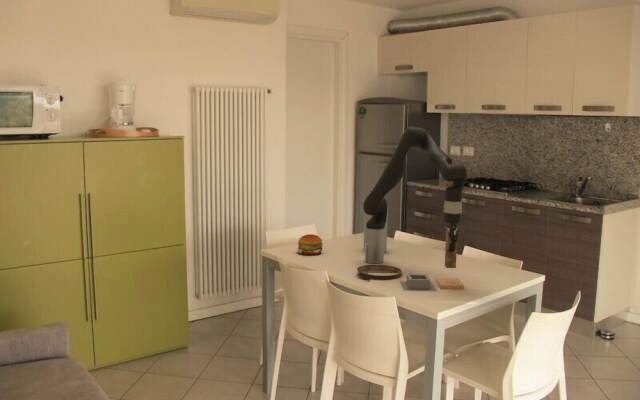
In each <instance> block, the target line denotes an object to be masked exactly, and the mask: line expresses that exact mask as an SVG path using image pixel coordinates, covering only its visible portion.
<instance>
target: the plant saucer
mask: <svg viewBox="0 0 640 400" xmlns="http://www.w3.org/2000/svg"><path fill="white" fill-rule="evenodd" d="M356 270H357V272H358V274H359V275H360V276H361V277H362V278H364V279H367V280H371V279H373V280H391V279H396V278H398V277H399V276H400V275H401V274H402V272H403V270H402V269H401V268H399V267H396V266H393V265H386V264H366V265H361V266H358V267H357V268H356ZM376 274H377V275H376ZM378 274H386V275H378ZM387 274H388V275H387Z"/></svg>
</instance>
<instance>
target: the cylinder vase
mask: <svg viewBox="0 0 640 400" xmlns="http://www.w3.org/2000/svg"><path fill="white" fill-rule="evenodd" d="M363 212H364V211H363ZM388 213H389V206H388V205H387V220H386V224H385V234H384V254H385V253H386V252H387V248H388V247H387V246H388V244H387V243H388V221H389V220H388V217H389V215H388ZM363 215H364V216H363V251H364V253H365V242H366V223H367V222H368V221H369V220H370V219H371V218H372V215H368V214H366V213H365V212H364V214H363Z"/></svg>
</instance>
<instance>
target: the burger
mask: <svg viewBox="0 0 640 400" xmlns="http://www.w3.org/2000/svg"><path fill="white" fill-rule="evenodd" d="M297 244H298V247H297V251H298V253H299V254H303V255H311V256H312V255H319V254H321V253H322V251H323V247H324V246H323V245H324V244H323V240H322V238H321V237H320V236H318V235H315V234H305V235H302V236H301V237H300V238H299V239H298V242H297Z"/></svg>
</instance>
